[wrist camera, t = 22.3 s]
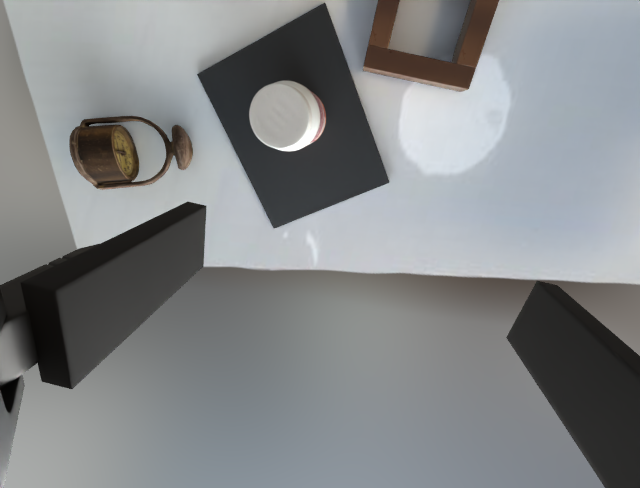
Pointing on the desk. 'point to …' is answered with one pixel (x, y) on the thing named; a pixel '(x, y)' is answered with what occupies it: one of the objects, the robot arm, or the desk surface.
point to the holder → (424, 68)
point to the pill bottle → (287, 116)
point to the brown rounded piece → (120, 152)
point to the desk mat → (323, 154)
